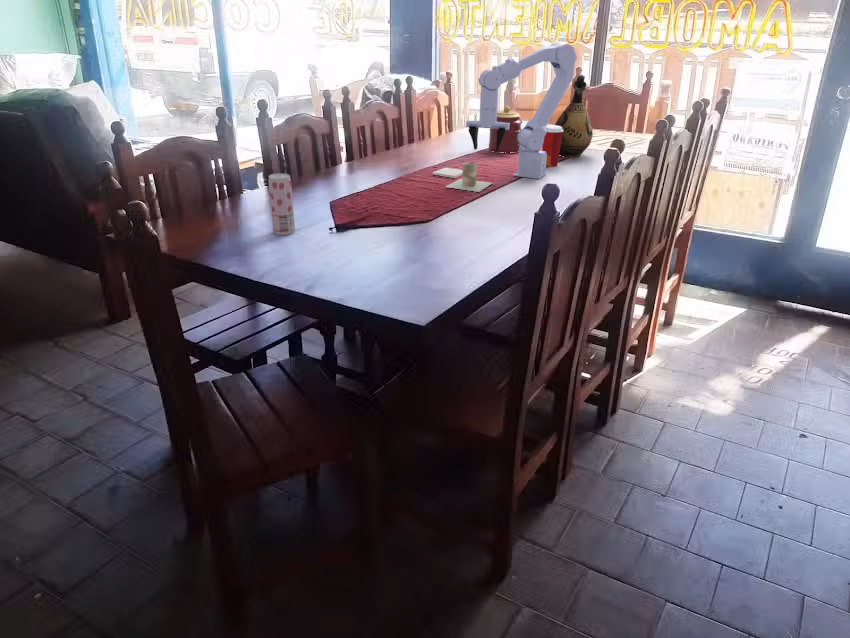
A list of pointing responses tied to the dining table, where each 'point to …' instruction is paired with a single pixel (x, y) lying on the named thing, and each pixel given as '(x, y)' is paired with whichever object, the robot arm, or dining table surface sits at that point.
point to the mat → (476, 188)
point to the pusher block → (469, 174)
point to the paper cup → (552, 144)
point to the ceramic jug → (575, 124)
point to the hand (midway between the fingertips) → (486, 149)
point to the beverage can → (281, 204)
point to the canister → (510, 136)
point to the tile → (449, 172)
